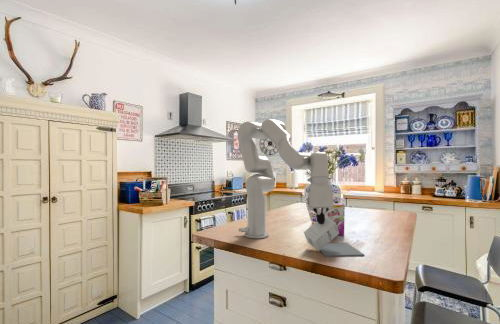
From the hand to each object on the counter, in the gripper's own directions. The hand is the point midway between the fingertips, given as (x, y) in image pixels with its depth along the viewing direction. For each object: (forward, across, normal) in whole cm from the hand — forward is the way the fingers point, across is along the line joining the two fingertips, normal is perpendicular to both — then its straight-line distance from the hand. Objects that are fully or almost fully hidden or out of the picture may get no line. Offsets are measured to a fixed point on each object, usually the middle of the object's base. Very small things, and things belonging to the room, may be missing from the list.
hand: (320, 223), depth 111 cm
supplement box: (+8, -5, 0) cm, 9 cm away
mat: (+12, +7, +1) cm, 14 cm away
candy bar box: (+12, +15, +26) cm, 32 cm away
